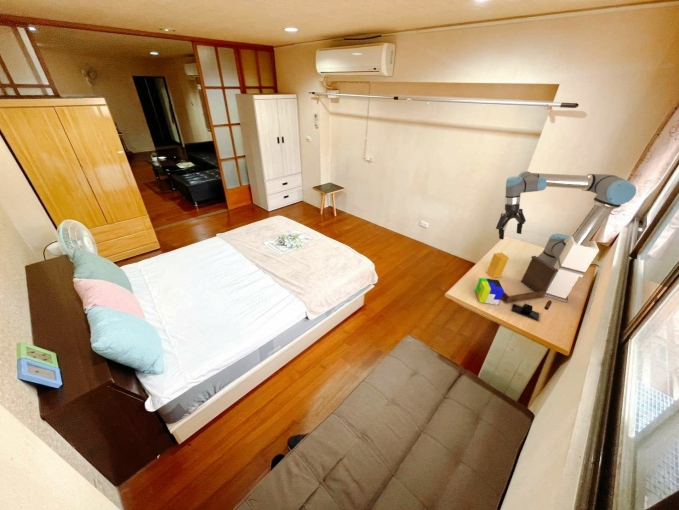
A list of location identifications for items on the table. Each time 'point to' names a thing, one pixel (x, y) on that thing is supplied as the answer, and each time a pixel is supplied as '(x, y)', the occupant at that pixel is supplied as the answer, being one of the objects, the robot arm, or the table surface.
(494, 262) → the yellow block
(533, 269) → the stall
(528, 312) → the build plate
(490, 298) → the puzzle toy
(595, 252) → the white stepped block
